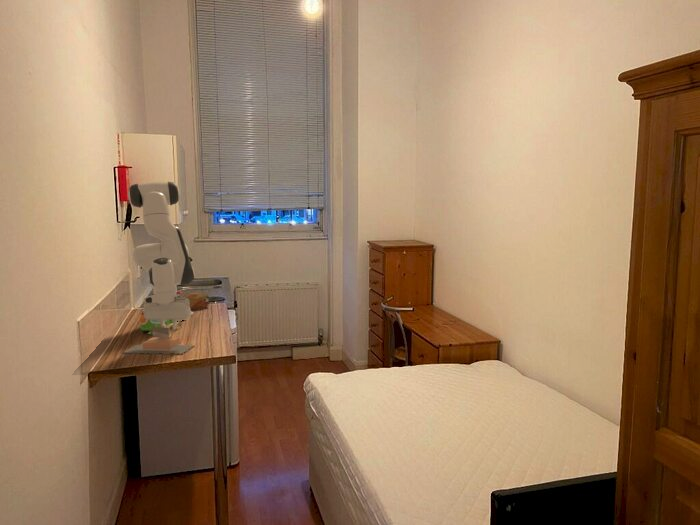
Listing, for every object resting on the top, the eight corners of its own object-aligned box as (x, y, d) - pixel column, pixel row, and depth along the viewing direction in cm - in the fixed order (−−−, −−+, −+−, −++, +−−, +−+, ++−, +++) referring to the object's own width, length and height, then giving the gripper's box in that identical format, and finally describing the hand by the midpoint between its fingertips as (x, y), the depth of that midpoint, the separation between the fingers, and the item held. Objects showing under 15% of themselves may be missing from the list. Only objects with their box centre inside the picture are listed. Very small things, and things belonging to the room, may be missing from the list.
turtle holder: (185, 327, 247) (182, 303, 245) (147, 336, 235) (144, 310, 233) (173, 323, 256) (171, 299, 254) (136, 332, 244) (133, 307, 242)
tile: (153, 337, 220) (142, 342, 213) (179, 337, 218) (169, 343, 210) (153, 344, 221) (143, 350, 213) (180, 344, 218) (170, 350, 211)
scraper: (171, 328, 230) (170, 319, 230) (186, 328, 229) (185, 319, 228) (152, 337, 216) (152, 327, 215) (168, 337, 214) (167, 327, 214)
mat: (137, 345, 221) (137, 344, 221) (194, 346, 216) (194, 345, 216) (123, 353, 211) (122, 352, 211) (182, 354, 206) (182, 353, 206)
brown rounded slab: (181, 310, 284) (180, 294, 283) (182, 308, 287) (180, 293, 286) (210, 307, 287) (209, 292, 286) (210, 306, 290) (209, 291, 289)
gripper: (192, 295, 220) (195, 327, 223) (148, 295, 224) (151, 327, 226) (185, 298, 214) (188, 331, 216) (139, 299, 218) (143, 331, 220)
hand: (169, 329), depth 221 cm, fingers closed on scraper, 2 cm apart
